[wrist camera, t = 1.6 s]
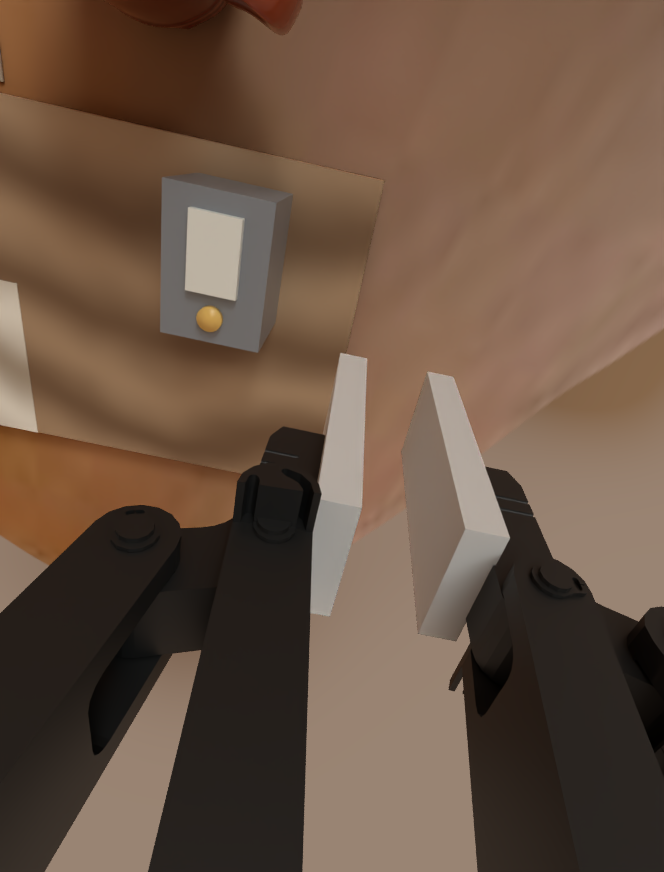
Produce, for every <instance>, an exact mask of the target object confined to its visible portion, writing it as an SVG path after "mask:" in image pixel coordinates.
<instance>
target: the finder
mask: <svg viewBox="0 0 664 872" xmlns="http://www.w3.org/2000/svg"><path fill="white" fill-rule="evenodd" d="M292 199H293V194H291V193H286V192H282V191H278V190H273V189H269V188H264V187H260V186H255V185H251V184H247V183H242V182H238V181H233V180H229V179H224V178H220V177H216V176H211V175H207V174H202V173H191V174H183V175H175V176H167V177H162V211H161V301H160V332H163V333H167V334H172V335H177V336H181V337H186V338H191V339H195V340H200V341H205V342H210V343H214V344H219V345H224V346H228V347H233V348H238V349H242V350H247V351H252V352H256V353H258V352H259V350H260V349H261V347H262V345H263V343H264V342H265V340H266V338H267V336H268V335H269V333H270V331H271V329H272V328H273V326H274V324H275V322H276V315H277V308H278V300H279V293H280V286H281V279H282V271H283V264H284V257H285V250H286V243H287V235H288V228H289V221H290V214H291V206H292Z"/></svg>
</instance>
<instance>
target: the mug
mask: <svg viewBox="0 0 664 872" xmlns="http://www.w3.org/2000/svg"><path fill="white" fill-rule="evenodd" d="M104 1H106V2H107V3H109V4H111V5H112V6H114V7H116V8H117V9H118V10H120V11H121V12H122V13H124V14H125V15H127V16H129V17H131V18H132V19H134V20H136V21H139V22H141V23H144V24H147V25H150V26H155V27H164V28H171V27H172V28H183V29H190V28H193V27H195V26H197V25H199V24H201V23H203V22H205V21H207V20H209V19H211V18H212V17H214V16H215V15H217V14H218V13H219V12H220V11H221V10H222V9H223V8H224V7H225V5H226V4H229V5H231V6H233V7H236V8H238V9H240V10H243V11H245V12H247V13H249V14H251V15H252V16H254V17H255V18H256V19H258V20H259V21H260V22H262V23H263V24H264V25H265V26H267V27H268V28H269V29H270V30H272V31H273V32H274V33H276V34H278V35H285V34H287V33H288V32H289V31H290V30H291V28H292V26H293V25H294V23H295V21H296V19H297V17H298V15H299V12H300V10H301V7H302V3H303V0H104Z"/></svg>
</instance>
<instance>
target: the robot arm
mask: <svg viewBox="0 0 664 872" xmlns="http://www.w3.org/2000/svg"><path fill="white" fill-rule="evenodd" d="M366 376H367V358H363V357H358V356H353V355H349V354H344V353H340V357H339V362H338V367H337V371H336V376H335V380H334V385H333V390H332V394H331V399H330V403H329V408H328V413H327V417H326V422H325V426H324V431H323V434H318V433H313V432H309V431H304V430H299V429H294V428H289V427H285V426H283V427H281V428H280V429H279V430H277V431H276V432H275V433H273V434H272V435H271V436H270V438H269V440H268V443H267V446H266V448H265V452H264V454H263V457H262V459H261V463H260V465H256V466H253V467H251V468H249V469H248V470H246V471H244V472H243V473H242V475H241V476H240V478H239V480H238V481H237V489H236V497H235V506H234V514H233V518H232V519H231V520H229V521H227V522H225V523H222V524H219V525H215V526H210V527H202V528H180V524H179V523H178V521H177V520H176V519H175V518H174V517H173V515H172V514H170V513H168V512H166V511H164V510H162V509H160V508H157V507H151V506H145V505H137V506H125V507H122V508H119V509H116V510H113V511H110V512H108V513H106V514H105V515H103V516H102V517H101V518H99V519H98V520H96V521H95V522H94V523H93V524H92V525H91V526H90V527H89V528H88V529H87V530H86V531H85V532H84V533H83V534H82V535H80V536H79V537H78V538H77V539H76V540H75V541H74V542H73V543H72V544H71V545H70V546H69V547H68V548H67V549H66V550H65V551H64V552H63V553H62V554H61V555H60V556H59V557H58V558H57V559H56V560H55V561H54V562H53V563H52V564H51V565H50V566H49V567H48V568H47V569H46V570H45V571H43V572H42V573H41V574H40V575H39V576H38V577H37V578H36V579H35V580H34V581H33V582H32V583H31V584H30V585H29V586H28V587H27V588H26V589H25V590H24V591H23V592H22V593H21V594H20V595H19V596H18V597H17V598H16V599H15V600H14V601H12V602H11V603H10V605H8V606H7V607H6V608H5V609H4V610H3V611H2V612H1V613H0V872H45V870H46V868H47V866H48V864H49V863H50V861H51V860H52V858H53V856H54V854H55V853H56V851H57V849H58V848H59V846H60V844H61V843H62V841H63V839H64V838H65V836H66V834H67V832H68V831H69V829H70V827H71V826H72V824H73V822H74V821H75V819H76V817H77V815H78V814H79V812H80V810H81V809H82V807H83V805H84V804H85V802H86V800H87V798H88V797H89V795H90V793H91V791H92V790H93V788H94V786H95V785H96V783H97V781H98V780H99V778H100V776H101V774H102V773H103V771H104V770H105V768H106V766H107V764H108V763H109V761H110V759H111V758H112V756H113V754H114V752H115V751H116V749H117V747H118V746H119V744H120V742H121V741H122V739H123V737H124V735H125V734H126V732H127V730H128V729H129V727H130V725H131V724H132V722H133V720H134V718H135V717H136V715H137V713H138V712H139V710H140V708H141V707H142V705H143V703H144V701H145V700H146V698H147V696H148V695H149V693H150V691H151V690H152V688H153V686H154V684H155V682H156V681H157V679H158V678H159V676H160V674H161V672H162V671H163V669H164V667H165V666H166V664H167V662H168V661H169V659H170V657H171V656H172V653H180V652H188V651H196V650H202V651H201V655H200V659H199V663H198V667H197V671H196V676H195V680H194V684H193V688H192V692H191V697H190V700H189V705H188V709H187V713H186V717H185V721H184V725H183V729H182V734H181V738H180V742H179V746H178V750H177V754H176V758H175V762H174V767H173V771H172V775H171V779H170V783H169V787H168V791H167V795H166V800H165V804H164V808H163V812H162V816H161V820H160V824H159V829H158V833H157V837H156V841H155V845H154V849H153V854H152V858H151V862H150V866H149V870H148V872H302V863H303V831H304V798H305V765H306V763H305V762H306V733H307V702H308V701H307V700H308V699H307V698H308V669H309V637H310V636H309V635H310V613H314V614H319V615H324V616H330V615H331V611H332V608H333V605H334V601H335V598H336V594H337V591H338V588H339V584H340V581H341V577H342V573H343V571H344V567H345V564H346V560H347V557H348V553H349V550H350V547H351V543H352V540H353V537H354V533H355V530H356V526H357V523H358V520H359V516H360V513H361V510H362V492H363V463H364V434H365V405H366ZM401 452H402V463H403V474H404V485H405V496H406V508H407V519H408V529H409V540H410V552H411V562H412V574H413V585H414V595H415V607H416V617H417V628H418V634H421V635H426V636H432V637H437V638H442V639H447V640H452V641H457V639H458V637H459V635H460V633H461V631H462V629H463V627H464V625H465V623H466V622H467V627H468V632H469V637H470V644H469V646H468V648H467V650H466V652H465V654H464V655H463V657H462V659H461V661H460V663H459V664H458V666H457V668H456V670H455V672H454V674H453V675H452V677H451V679H450V684H449V690H451V691H455V689H456V688H457V686H458V684H459V682H460V680H461V679H462V677H463V687H464V690H463V694H464V700H465V713H466V725H467V739H468V751H469V765H470V778H471V791H472V804H473V817H474V830H475V843H476V856H477V868H478V872H664V607H655V608H650V609H649V610H648V611H647V613H646V614H645V615H644V616H643V617H642V618H641V620H640V621H639V622H638V621H636V620H634V619H631V618H629V617H627V616H624V615H622V614H620V613H618V612H615V611H613V610H611V609H609V608H606V607H604V606H602V605H600V604H598V603H596V602H595V600H594V598H593V595H592V593H591V591H590V590H589V588H588V586H587V585H586V583H585V581H584V580H583V579H582V578H581V577H580V576H579V575H578V574H576V572H575V571H574V570H572V569H570V568H569V567H568V566H566V565H564V564H563V563H561V562H559V561H558V560H555V559H553V557H552V555H551V553H550V550H549V548H548V546H547V544H546V541H545V539H544V537H543V535H542V532H541V530H540V528H539V525H538V523H537V521H536V519H535V517H533V512H532V509H531V507H530V505H529V504H528V501H527V498H526V496H525V494H524V491H523V489H522V487H521V485H520V484H519V483H518V482H517V481H516V480H515V479H514V478H513V477H512V476H511V475H510V474H509V473H508V472H507V471H503V470H499V469H493V468H489V467H485V465H484V462H483V459H482V457H481V454H480V451H479V448H478V445H477V442H476V439H475V437H474V434H473V431H472V428H471V425H470V422H469V420H468V417H467V414H466V411H465V408H464V405H463V402H462V400H461V397H460V394H459V391H458V388H457V385H456V383H455V380H454V377H451V376H447V375H442V374H437V373H433V372H428V371H427V374H426V377H425V380H424V383H423V386H422V389H421V392H420V395H419V399H418V402H417V405H416V408H415V411H414V414H413V417H412V420H411V423H410V426H409V429H408V433H407V436H406V439H405V442H404V445H403V448H402V451H401Z"/></svg>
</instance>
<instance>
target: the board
mask: <svg viewBox="0 0 664 872" xmlns="http://www.w3.org/2000/svg"><path fill="white" fill-rule="evenodd" d="M0 81H2V82H4V76H3V68H2V60H1V52H0ZM191 173H202V174H207V175H211V176H216V177H220V178H224V179H229V180H233V181H238V182H242V183H247V184H251V185H255V186H260V187H264V188H269V189H273V190H278V191H282V192H286V193H291V194H293V199H292V206H291V214H290V221H289V228H288V235H287V243H286V250H285V257H284V264H283V271H282V279H281V286H280V293H279V300H278V308H277V315H276V322H275V324H274V326H273V328H272V329H271V331H270V333H269V335H268V336H267V338H266V340H265V342H264V343H263V345H262V347H261V349H260V350H259V352H258V353H256V352H252V351H247V350H242V349H238V348H233V347H228V346H224V345H219V344H214V343H210V342H205V341H200V340H195V339H191V338H186V337H181V336H177V335H172V334H167V333H163V332H160V301H161V211H162V177H167V176H175V175H183V174H191ZM384 182H385V181H384V180H381V179H377V178H373V177H368V176H364V175H360V174H355V173H351V172H346V171H342V170H338V169H333V168H329V167H324V166H320V165H316V164H311V163H307V162H303V161H298V160H294V159H289V158H285V157H281V156H276V155H272V154H267V153H263V152H259V151H254V150H250V149H246V148H241V147H237V146H232V145H228V144H224V143H219V142H215V141H210V140H206V139H202V138H197V137H193V136H189V135H184V134H180V133H175V132H171V131H167V130H162V129H158V128H153V127H149V126H145V125H140V124H136V123H131V122H127V121H123V120H118V119H114V118H110V117H105V116H101V115H96V114H92V113H88V112H83V111H79V110H74V109H70V108H66V107H61V106H57V105H53V104H48V103H44V102H39V101H35V100H31V99H26V98H22V97H17V96H13V95H9V94H4V93H0V425H3V426H8V427H13V428H17V429H22V430H27V431H32V432H37V433H38V432H40V433H45V434H49V435H54V436H59V437H64V438H69V439H74V440H79V441H84V442H89V443H93V444H98V445H103V446H108V447H113V448H118V449H123V450H128V451H133V452H138V453H142V454H147V455H152V456H157V457H162V458H167V459H172V460H177V461H182V462H187V463H191V464H196V465H201V466H206V467H211V468H216V469H221V470H226V471H231V472H236V473H240V474H242V473H243V472H244V471H246V470H248V469H249V468H251V467H253V466H256V465H260V463H261V459H262V457H263V454H264V452H265V448H266V446H267V443H268V440H269V438H270V436H271V435H272V434H273V433H275V432H276V431H277V430H279V429H280V428H281V427H283V426H285V427H289V428H294V429H299V430H304V431H309V432H313V433H318V434H323V431H324V426H325V422H326V417H327V413H328V408H329V403H330V399H331V394H332V390H333V385H334V380H335V376H336V371H337V367H338V362H339V357H340V353H344V354H346V351H347V347H348V342H349V338H350V333H351V329H352V324H353V320H354V315H355V311H356V306H357V302H358V298H359V293H360V289H361V284H362V280H363V275H364V271H365V266H366V262H367V257H368V253H369V248H370V244H371V240H372V235H373V231H374V226H375V222H376V217H377V213H378V208H379V204H380V199H381V195H382V191H383V186H384Z"/></svg>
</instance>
